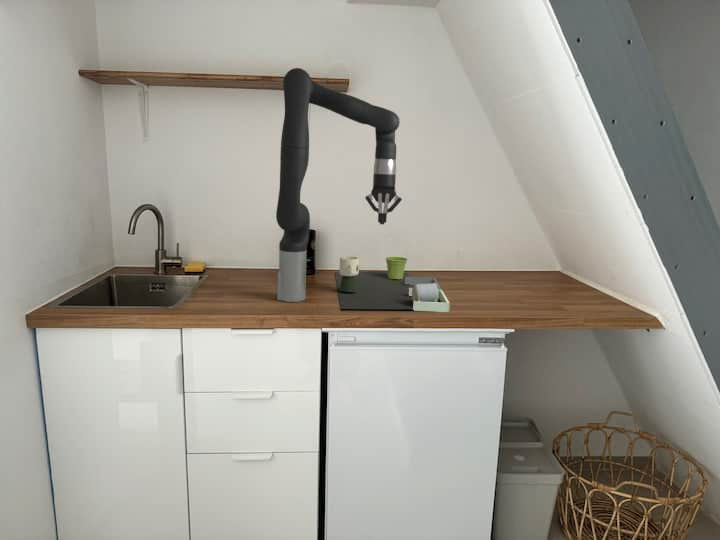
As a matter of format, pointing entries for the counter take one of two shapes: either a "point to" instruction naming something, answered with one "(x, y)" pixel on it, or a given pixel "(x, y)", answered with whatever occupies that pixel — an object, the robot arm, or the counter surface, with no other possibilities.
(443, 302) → the corral green
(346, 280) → the character mug
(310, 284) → the counter surface
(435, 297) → the ceramic mug
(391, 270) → the plant pot
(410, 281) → the corral charcoal
